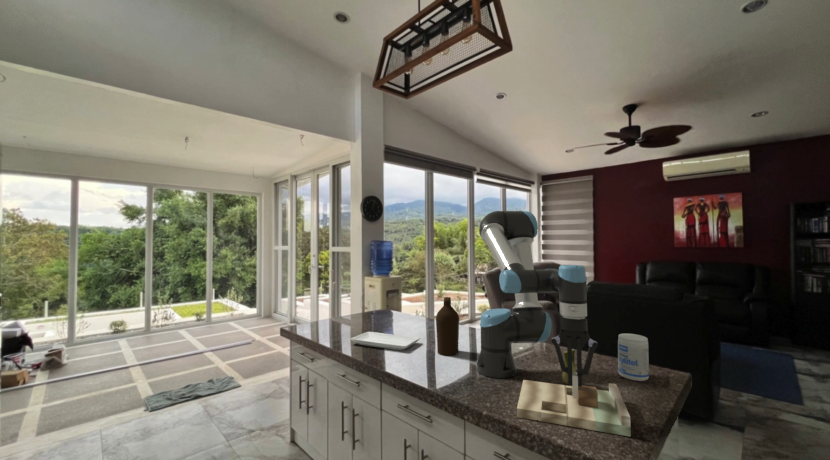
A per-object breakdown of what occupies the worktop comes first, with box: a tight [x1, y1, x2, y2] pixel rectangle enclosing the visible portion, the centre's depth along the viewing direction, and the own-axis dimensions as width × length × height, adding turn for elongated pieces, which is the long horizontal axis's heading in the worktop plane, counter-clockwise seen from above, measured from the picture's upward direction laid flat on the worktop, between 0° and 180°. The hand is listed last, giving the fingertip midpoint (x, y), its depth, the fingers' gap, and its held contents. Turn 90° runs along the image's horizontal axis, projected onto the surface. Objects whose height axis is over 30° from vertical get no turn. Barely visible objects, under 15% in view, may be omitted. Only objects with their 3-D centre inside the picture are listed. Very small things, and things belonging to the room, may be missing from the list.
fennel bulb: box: [561, 348, 577, 386], centre depth 121 cm, size 6×5×12 cm
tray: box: [349, 331, 421, 351], centre depth 171 cm, size 17×31×4 cm, turn 65°
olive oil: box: [435, 296, 460, 357], centre depth 158 cm, size 11×11×25 cm
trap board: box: [516, 379, 632, 437], centre depth 104 cm, size 28×22×5 cm
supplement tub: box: [617, 333, 650, 382], centre depth 128 cm, size 10×10×15 cm
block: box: [578, 384, 598, 408], centre depth 102 cm, size 5×5×4 cm
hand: (575, 396), depth 103 cm, fingers closed
